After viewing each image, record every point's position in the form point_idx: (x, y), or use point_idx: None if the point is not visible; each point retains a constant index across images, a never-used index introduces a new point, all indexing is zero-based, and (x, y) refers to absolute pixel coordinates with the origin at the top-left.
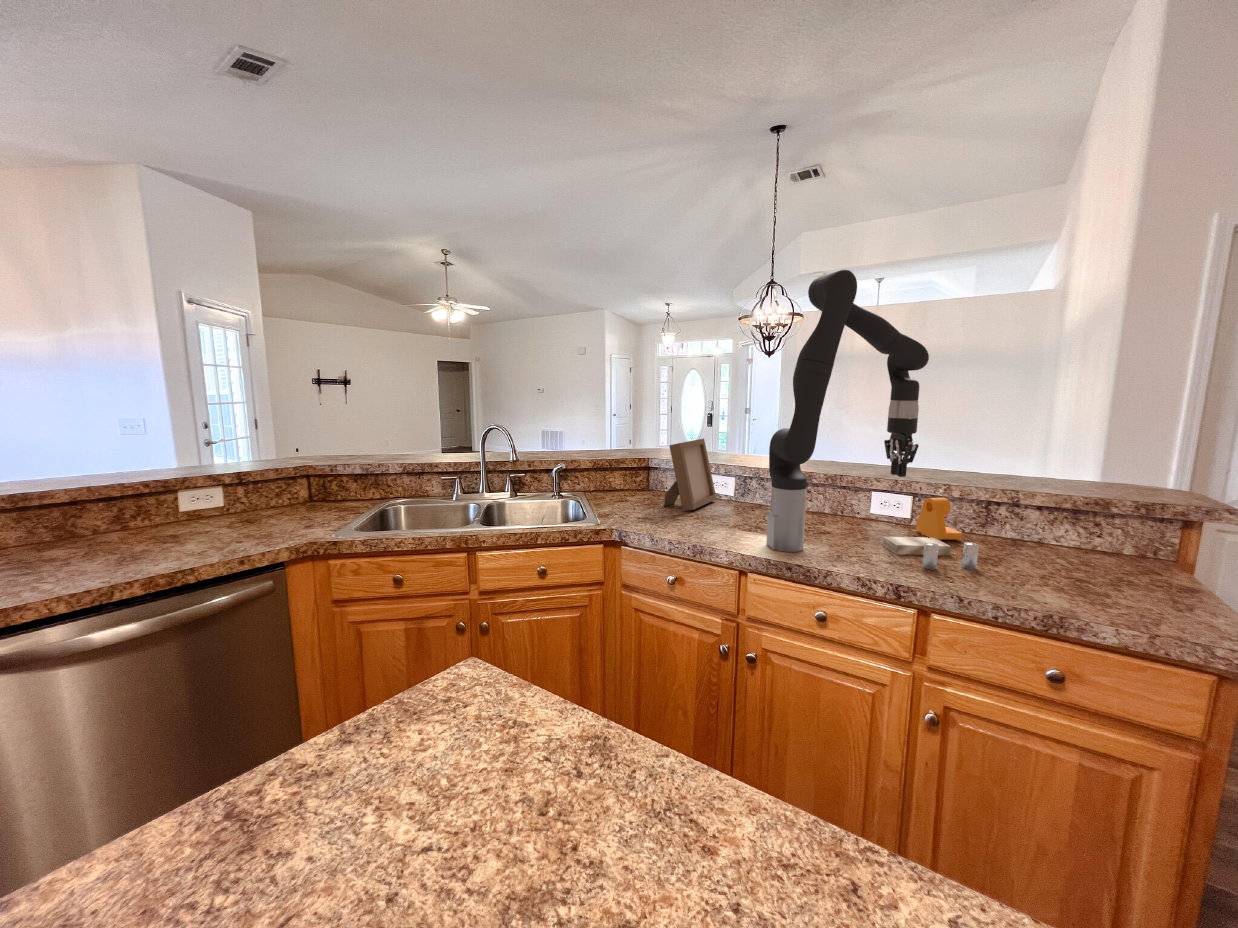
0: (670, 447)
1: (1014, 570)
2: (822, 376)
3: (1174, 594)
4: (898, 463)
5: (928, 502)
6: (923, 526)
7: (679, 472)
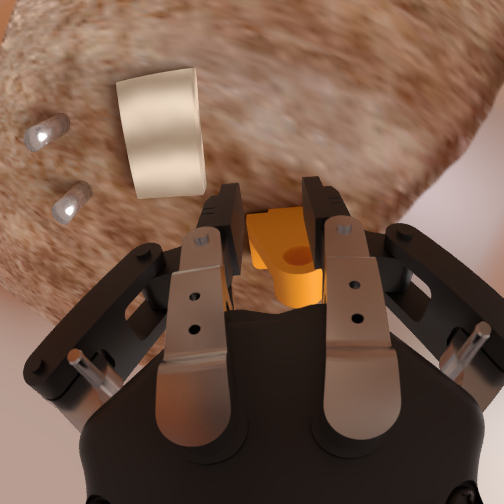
0: None
1: (96, 248)
2: None
3: None
4: (313, 255)
5: (311, 264)
6: None
7: None
